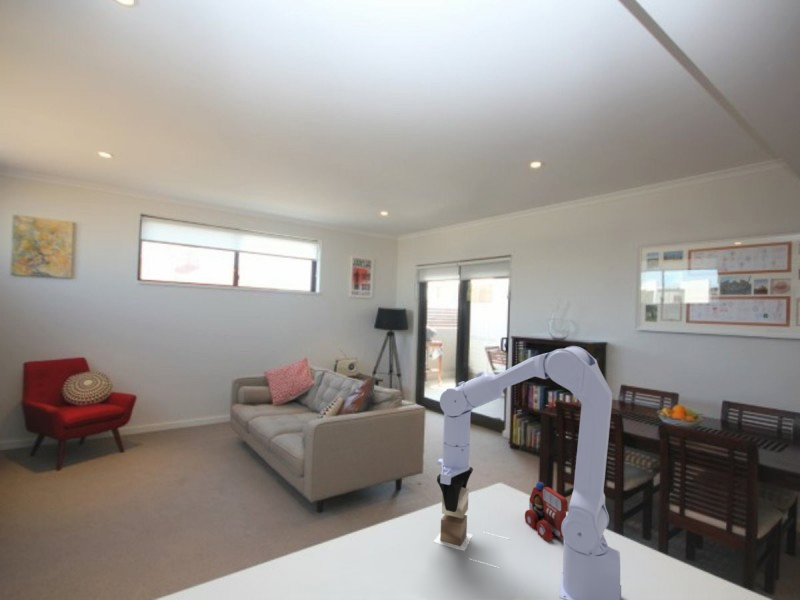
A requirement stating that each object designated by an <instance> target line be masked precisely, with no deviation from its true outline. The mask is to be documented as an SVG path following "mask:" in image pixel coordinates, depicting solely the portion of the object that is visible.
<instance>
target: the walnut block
mask: <svg viewBox="0 0 800 600" xmlns="http://www.w3.org/2000/svg"><path fill="white" fill-rule="evenodd" d="M467 529H468V515H467V514H465V515H464V517H463V518H458V517H454V516H450V515H446V514H443V516H442V518H440V532H441V535H440V541H443V542H447V543H450V544H454V545H457V546H461V545H462V543H463V541H464V540H465V538H466V536H467V533H468V532H467V531H468V530H467Z"/></svg>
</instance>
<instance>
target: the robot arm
mask: <svg viewBox="0 0 800 600" xmlns="http://www.w3.org/2000/svg"><path fill="white" fill-rule="evenodd" d="M534 377H536V378H540V379H542V380H546V379H549V378H550V379H551V380H552V381H553V382H554V383H556V384H557V385H560V386H561V387H562V388H564V389H566V390H568V391H570V393H571V394H572V395H573V396H574V397H575V398H576V399H577V400H578V401H579V403H580V404H581V406H580V407H581V408H580V417H579V429H578V439H577V440H578V441H577V451H576V459H575V461H576V462H575V471H574V481H573V491H572V493H571V498H570V501H569V503H568V510H567V513H566V517H565V519H564V520H563V522H562V525H561V531H562V535H563V554H562V556H563V557H562V558H563V559H562V561H563V562H562V571H561V574H560V583H559V590H558V591H559V593H558V598H560V599H562V600H621V598H622V584H621V553H620V551H619V550H617V549H615V548H612V547H610V546H608V545H609V544H608V543H607V540H606V537H605V535H604V533H605V531H606V529H607V528H608V526H609V523H610V516H609V513H608V510H607V507H606V495H605V492H604V491H605V490H604V489H605V488H604V487H605V481H606V479H605V478H606V469H607V457H608V448H609V440H610V439H609V437H610V428H611V427H610V426H611V417H612V416H611V415H612V406H613V392H612V390H611V388H610V386H609V384H608V382H607V381H606V378H605V377H604V375H603V373H602V371H601V369H600V367H599V364H598V360H597V359H596V358H594V356H592V355H591V354H590V353H589V352H588V351H587V350H586V349H584V348H582V347H580V346H576V345H570V346H566V347H565V348H557V349H555V350H552V351H550V352H546V353H542V354H538V355H535V356H532V357H530V358H527V359H525V360H524V361H521V362H519V363H518V364H515V365H514V366H511V367H509V368H508V369H506V370H504V371H502V372H500V373H498V374H496V373H493V372H489V371H487V372H484V371H479V372H477V373H476V374H475V377H474V378H472V379H470V380H468V381H461V382H458V384H457V385H458V386H456V387H449V388H447V389H446V390H445V391H443V393H442V394H441V395H440V398H439V406H440V409H441V410H442V412H443V440H442V442H443V443H442V445H443V446H442V458H441V457H440V458H438V460H437V465H440V466H441V473H439V474H438V475H437V477H436V482H437V484H438V486H439V487H440V490H441V493H442V494H443V498H444V503H445V508H446V510H447V511H451V512H455V511H456V509H457V505H458V499H459V494H460V490H461V488H462V487H463V488H467V486H468V482H469V479H470V477H471V475H472V473H473V471H474V468H473V467H471V462H470V447H471V445H470V444H471V412H472V411H473V409H477V408H479V407H482V406H484V405H486V404H489V403H491V402H493V401H495V400H498V399H500V398H501V397H502V394H503V392H504V389H506V388H508V387H511V386H513V385H516V384H519V383H521V382H524V381H526V380H528V379H532V378H534Z"/></svg>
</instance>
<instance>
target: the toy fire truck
mask: <svg viewBox="0 0 800 600" xmlns="http://www.w3.org/2000/svg"><path fill="white" fill-rule="evenodd" d="M528 500H529V503H528V504H529V506H528V507H529V508H528V509H527V510H526V511H525V513H524V519H525V523H526V524H527V525H528V526H529V528H531V529H536V532H537V535H538V536H539V537H540V538H541V539H542V540H544V541H546V542H549V541H551V540H552V539H553V537H554V536H555V537H557V538H559V539H562V538H563V539H564V537H563V535H562V531H561V525H562V522H563V520H564V519H565V517H566V516H567V512H568V511H569V503H568V500H567V498H566V497H564V496H563V495H561V494H559V492H557V491H555V490H554V489H552V488H551V487H549V486H546V484H545V483H544V482H542V481H538V482H537V483H536V485H535V486H534V487H533V489H532V491H531V493H530V496H529V499H528Z"/></svg>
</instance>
